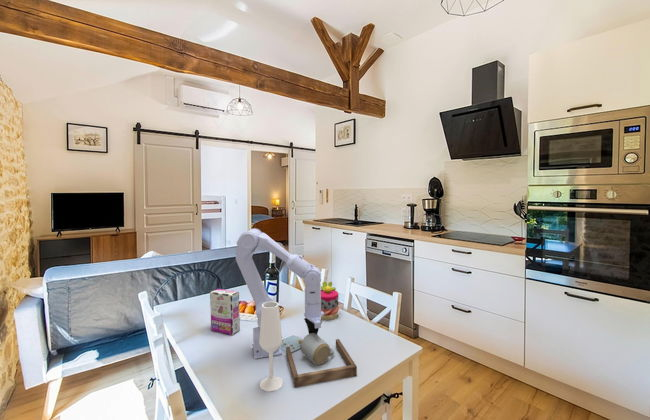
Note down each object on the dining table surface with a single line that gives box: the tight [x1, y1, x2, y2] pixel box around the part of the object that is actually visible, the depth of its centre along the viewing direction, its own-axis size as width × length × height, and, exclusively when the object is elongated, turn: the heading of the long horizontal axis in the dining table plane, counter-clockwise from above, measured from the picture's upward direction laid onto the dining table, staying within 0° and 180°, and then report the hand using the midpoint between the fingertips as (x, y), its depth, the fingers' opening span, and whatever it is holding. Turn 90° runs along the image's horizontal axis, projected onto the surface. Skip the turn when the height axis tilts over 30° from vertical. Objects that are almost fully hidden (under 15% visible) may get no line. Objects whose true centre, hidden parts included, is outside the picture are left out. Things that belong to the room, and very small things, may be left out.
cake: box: [320, 281, 340, 321], centre depth 131 cm, size 10×11×15 cm
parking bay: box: [285, 338, 358, 388], centre depth 94 cm, size 19×17×3 cm
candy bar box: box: [209, 288, 241, 336], centre depth 117 cm, size 11×5×16 cm, turn 68°
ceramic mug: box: [300, 333, 335, 365], centre depth 98 cm, size 11×8×8 cm
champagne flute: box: [259, 301, 284, 392], centre depth 84 cm, size 7×7×24 cm
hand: (313, 338), depth 103 cm, fingers closed
